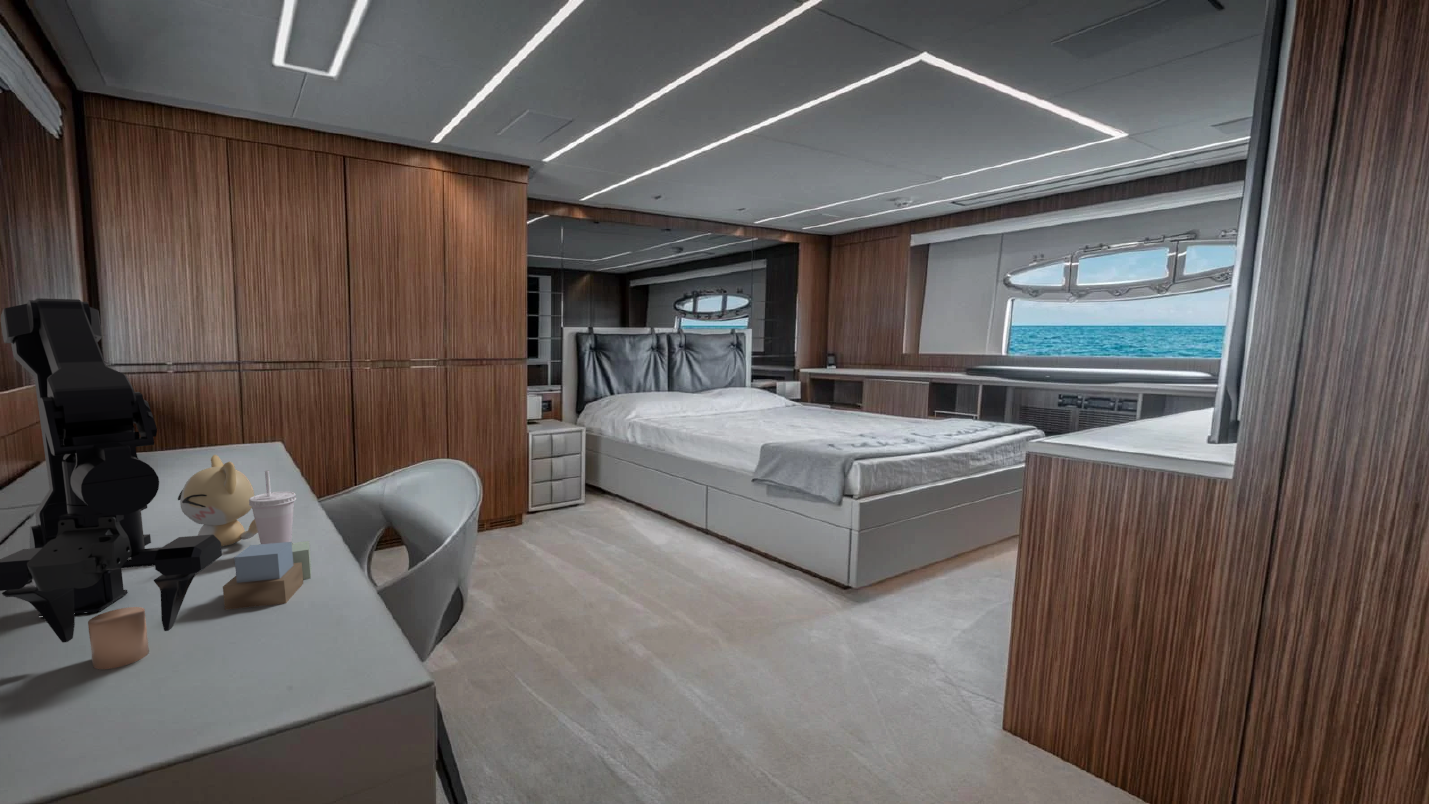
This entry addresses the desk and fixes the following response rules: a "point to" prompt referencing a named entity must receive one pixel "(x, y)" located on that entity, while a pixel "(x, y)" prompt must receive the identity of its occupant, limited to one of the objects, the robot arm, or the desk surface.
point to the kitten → (219, 502)
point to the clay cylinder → (118, 637)
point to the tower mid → (263, 562)
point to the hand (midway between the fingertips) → (119, 635)
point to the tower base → (263, 590)
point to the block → (302, 557)
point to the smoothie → (273, 514)
